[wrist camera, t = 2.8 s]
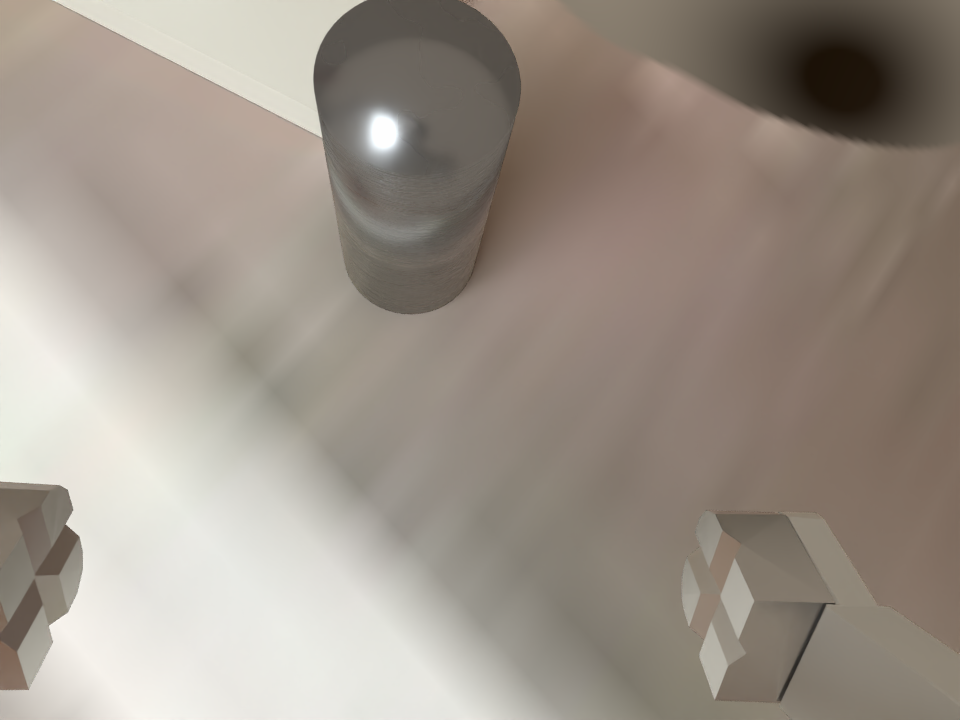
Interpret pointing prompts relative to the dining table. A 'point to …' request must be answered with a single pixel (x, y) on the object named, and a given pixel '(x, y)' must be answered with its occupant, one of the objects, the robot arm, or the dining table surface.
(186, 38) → the housing
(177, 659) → the dining table surface
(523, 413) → the dining table surface
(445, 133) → the pin
